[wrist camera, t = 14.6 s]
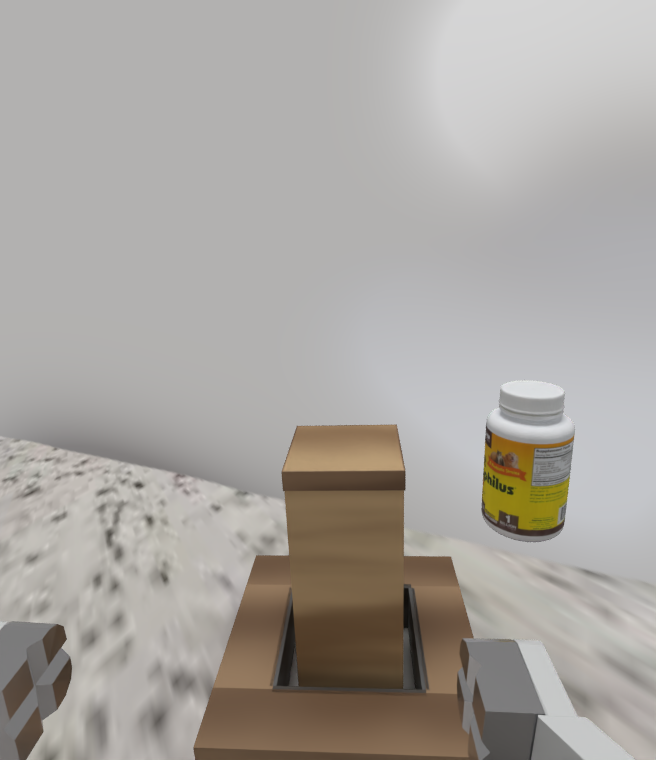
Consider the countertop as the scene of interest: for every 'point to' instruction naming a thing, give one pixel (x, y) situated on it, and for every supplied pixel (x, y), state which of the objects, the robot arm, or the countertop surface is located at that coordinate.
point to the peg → (346, 554)
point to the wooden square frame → (332, 704)
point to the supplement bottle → (527, 462)
